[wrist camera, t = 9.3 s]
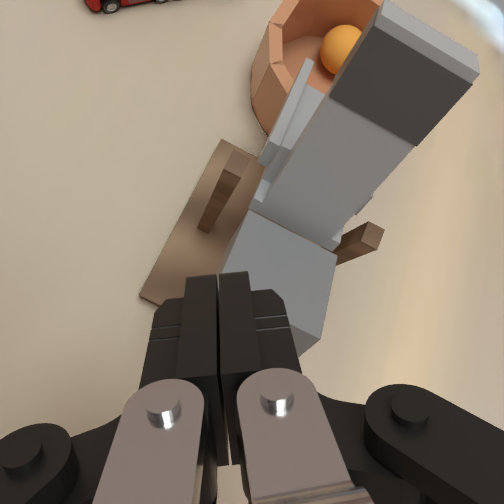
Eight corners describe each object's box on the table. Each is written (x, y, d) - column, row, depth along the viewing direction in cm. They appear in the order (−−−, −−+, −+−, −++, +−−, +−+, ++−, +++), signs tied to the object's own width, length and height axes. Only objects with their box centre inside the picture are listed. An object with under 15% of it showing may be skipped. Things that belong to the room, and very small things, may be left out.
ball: (325, 14, 37) (311, 43, 41) (333, 60, 36) (317, 84, 40) (370, 13, 38) (352, 41, 41) (378, 58, 37) (359, 82, 41)
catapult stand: (278, 363, 35) (359, 377, 22) (139, 296, 34) (134, 268, 21) (341, 212, 39) (443, 145, 26) (218, 146, 38) (258, 39, 24)
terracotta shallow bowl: (223, 60, 39) (237, 9, 33) (340, 15, 43) (372, -39, 37) (297, 188, 39) (325, 160, 32) (409, 131, 42) (454, 95, 36)
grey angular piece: (300, 369, 21) (528, 195, 12) (183, 313, 21) (323, 78, 11) (349, 152, 34) (482, -22, 24) (276, 112, 33) (382, -85, 23)
